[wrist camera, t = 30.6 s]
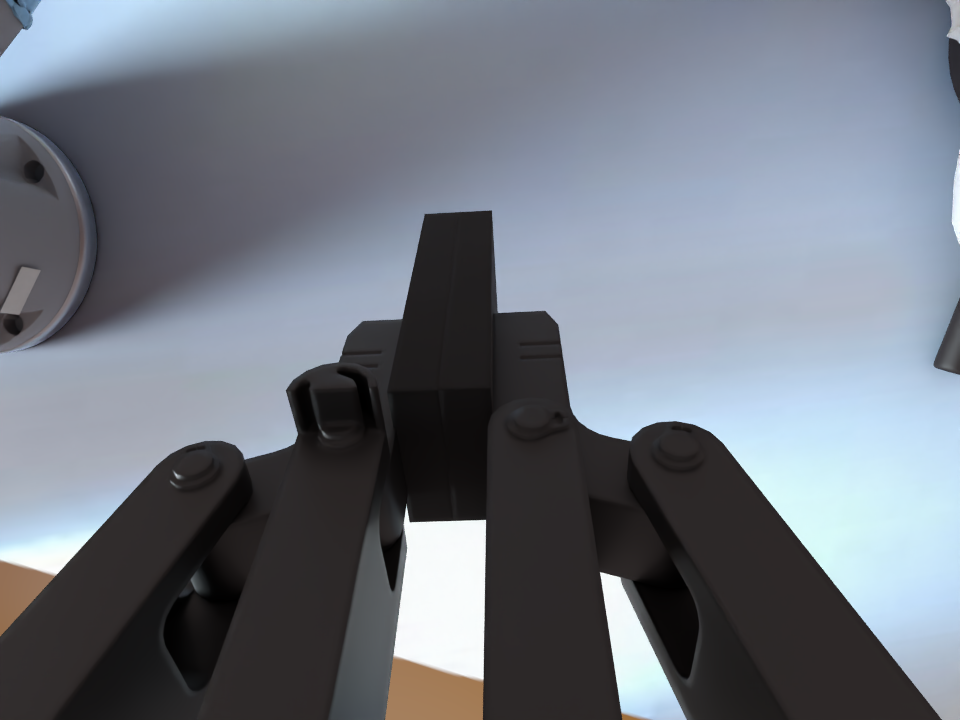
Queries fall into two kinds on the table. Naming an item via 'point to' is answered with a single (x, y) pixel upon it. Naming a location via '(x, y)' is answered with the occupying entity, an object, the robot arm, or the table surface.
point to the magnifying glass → (956, 347)
